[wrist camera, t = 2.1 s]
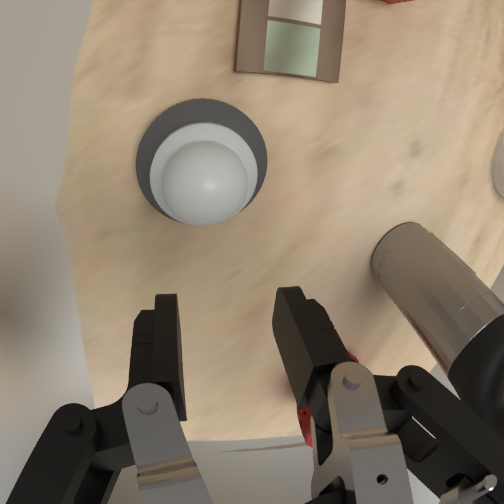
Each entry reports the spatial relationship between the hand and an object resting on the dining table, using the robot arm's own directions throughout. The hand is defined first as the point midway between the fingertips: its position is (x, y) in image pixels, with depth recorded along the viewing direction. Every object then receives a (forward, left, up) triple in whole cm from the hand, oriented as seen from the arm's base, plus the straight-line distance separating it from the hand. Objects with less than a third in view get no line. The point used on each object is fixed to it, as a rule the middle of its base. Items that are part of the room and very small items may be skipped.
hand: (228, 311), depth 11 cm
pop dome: (0, 0, -16) cm, 16 cm away
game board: (-7, -18, -19) cm, 27 cm away
